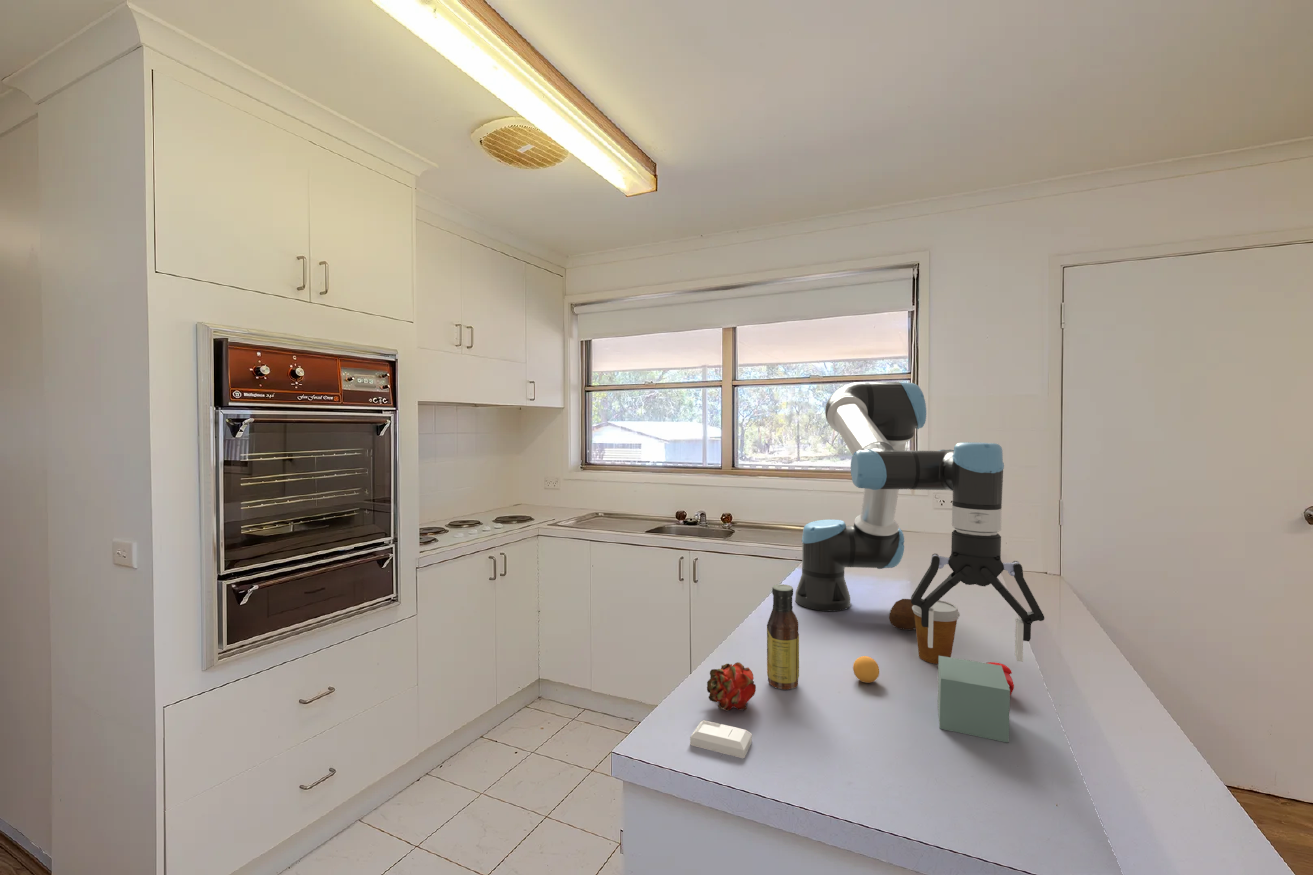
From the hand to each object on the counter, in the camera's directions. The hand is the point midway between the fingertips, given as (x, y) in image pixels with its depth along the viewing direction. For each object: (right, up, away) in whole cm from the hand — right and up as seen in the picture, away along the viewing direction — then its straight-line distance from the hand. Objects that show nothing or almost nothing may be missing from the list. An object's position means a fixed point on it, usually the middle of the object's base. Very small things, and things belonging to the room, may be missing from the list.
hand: (973, 651), depth 100 cm
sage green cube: (0, -13, +1) cm, 13 cm away
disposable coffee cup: (+6, -12, +27) cm, 30 cm away
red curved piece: (+10, -12, +11) cm, 20 cm away
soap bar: (-45, -13, -6) cm, 47 cm away
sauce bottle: (-30, -12, +14) cm, 36 cm away
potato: (+7, -11, +43) cm, 45 cm away
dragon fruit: (-41, -12, +6) cm, 44 cm away
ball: (-13, -9, +15) cm, 22 cm away
